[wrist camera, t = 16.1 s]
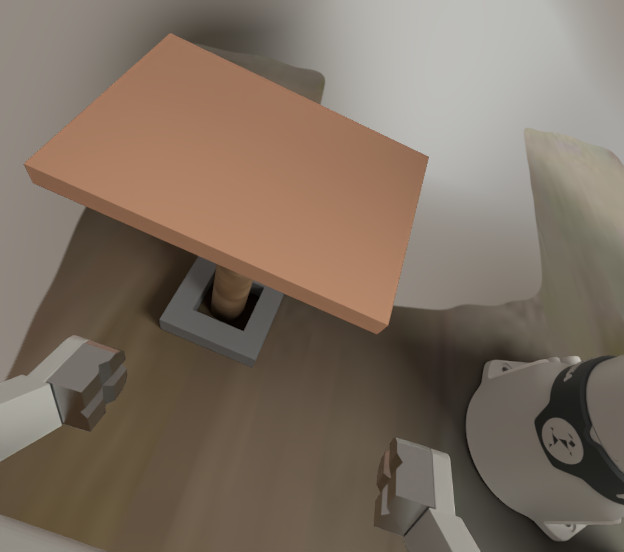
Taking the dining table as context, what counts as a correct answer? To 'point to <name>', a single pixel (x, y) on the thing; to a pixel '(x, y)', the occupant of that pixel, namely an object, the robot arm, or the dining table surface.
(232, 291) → the peg
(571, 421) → the robot arm
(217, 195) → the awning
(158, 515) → the dining table surface
